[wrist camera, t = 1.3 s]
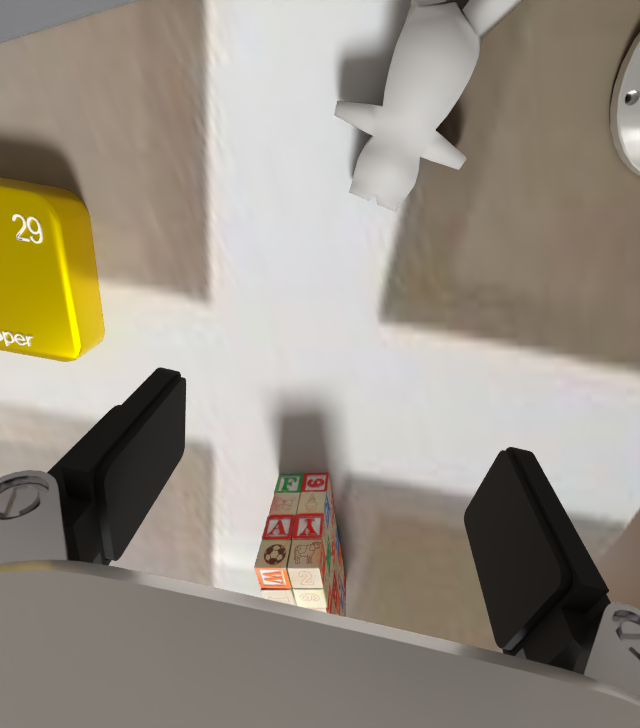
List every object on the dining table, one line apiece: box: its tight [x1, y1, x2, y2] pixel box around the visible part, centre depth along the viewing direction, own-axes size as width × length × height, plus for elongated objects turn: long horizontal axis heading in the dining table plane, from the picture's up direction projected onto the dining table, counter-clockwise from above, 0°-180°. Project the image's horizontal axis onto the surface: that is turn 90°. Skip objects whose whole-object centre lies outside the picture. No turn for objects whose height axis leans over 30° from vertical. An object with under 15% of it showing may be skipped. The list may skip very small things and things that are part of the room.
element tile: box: [0, 177, 105, 362], centre depth 34 cm, size 15×15×5 cm
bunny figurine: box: [334, 0, 523, 212], centre depth 25 cm, size 10×5×15 cm
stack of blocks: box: [254, 473, 346, 617], centre depth 45 cm, size 21×6×12 cm, turn 8°
